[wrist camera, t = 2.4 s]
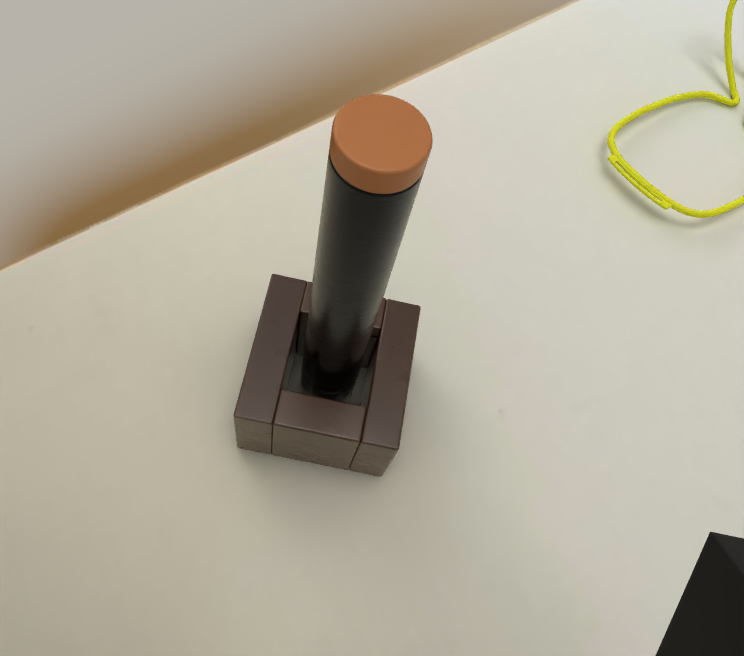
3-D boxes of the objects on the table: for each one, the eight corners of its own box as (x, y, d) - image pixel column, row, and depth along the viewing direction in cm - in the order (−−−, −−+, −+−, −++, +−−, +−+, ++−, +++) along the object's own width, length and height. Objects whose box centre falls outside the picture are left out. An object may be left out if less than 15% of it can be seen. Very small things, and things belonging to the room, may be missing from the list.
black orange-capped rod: (293, 413, 29) (323, 159, 14) (304, 365, 30) (342, 83, 15) (344, 424, 29) (426, 182, 15) (354, 376, 30) (439, 105, 16)
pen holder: (237, 447, 28) (233, 416, 25) (271, 318, 31) (272, 273, 27) (382, 477, 28) (398, 450, 25) (403, 346, 31) (421, 305, 28)
